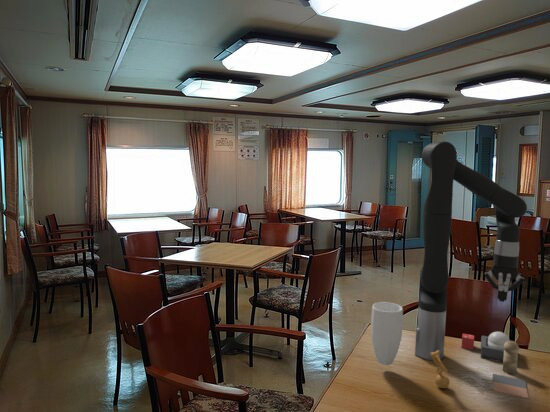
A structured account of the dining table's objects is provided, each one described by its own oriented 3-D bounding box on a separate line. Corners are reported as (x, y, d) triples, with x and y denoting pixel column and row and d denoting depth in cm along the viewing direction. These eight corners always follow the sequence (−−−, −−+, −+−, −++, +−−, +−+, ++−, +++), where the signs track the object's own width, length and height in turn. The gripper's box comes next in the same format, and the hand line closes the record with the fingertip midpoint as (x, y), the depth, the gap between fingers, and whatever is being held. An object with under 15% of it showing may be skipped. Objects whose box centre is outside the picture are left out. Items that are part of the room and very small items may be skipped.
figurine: (455, 394, 123) (458, 356, 121) (436, 395, 122) (439, 357, 121) (440, 380, 131) (443, 343, 130) (422, 381, 130) (425, 344, 129)
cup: (364, 373, 134) (367, 308, 132) (372, 359, 144) (375, 299, 141) (397, 381, 130) (400, 315, 127) (403, 367, 139) (407, 305, 136)
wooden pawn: (502, 372, 136) (504, 342, 135) (501, 367, 140) (503, 337, 139) (517, 376, 134) (520, 345, 133) (516, 370, 138) (519, 340, 137)
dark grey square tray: (480, 357, 147) (481, 346, 146) (480, 345, 157) (481, 335, 156) (516, 364, 142) (517, 353, 142) (514, 351, 152) (515, 341, 151)
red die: (461, 347, 155) (462, 336, 154) (461, 343, 158) (462, 332, 158) (473, 349, 153) (474, 338, 152) (473, 345, 156) (474, 334, 156)
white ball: (487, 352, 148) (488, 333, 147) (487, 345, 154) (488, 327, 153) (509, 357, 144) (511, 337, 144) (508, 349, 151) (510, 330, 150)
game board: (493, 390, 125) (493, 389, 125) (492, 374, 135) (492, 373, 135) (528, 398, 121) (528, 397, 121) (524, 381, 131) (524, 380, 131)
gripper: (485, 252, 145) (481, 300, 147) (529, 257, 139) (524, 307, 141) (485, 249, 152) (481, 294, 154) (527, 253, 146) (522, 301, 148)
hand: (501, 300), depth 147 cm, fingers closed
